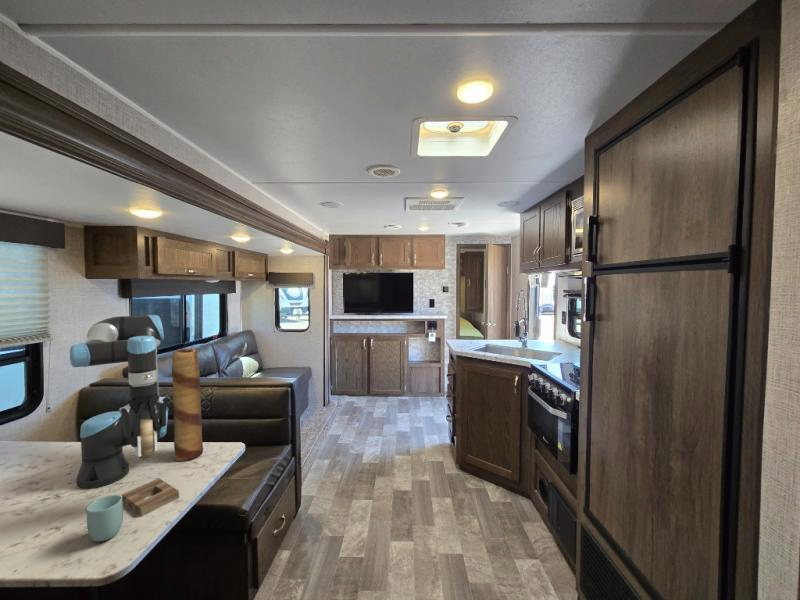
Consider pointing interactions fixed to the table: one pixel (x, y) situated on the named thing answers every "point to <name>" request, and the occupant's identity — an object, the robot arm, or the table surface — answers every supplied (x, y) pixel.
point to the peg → (146, 438)
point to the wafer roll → (186, 405)
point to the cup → (104, 517)
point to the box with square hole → (147, 505)
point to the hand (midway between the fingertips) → (146, 452)
